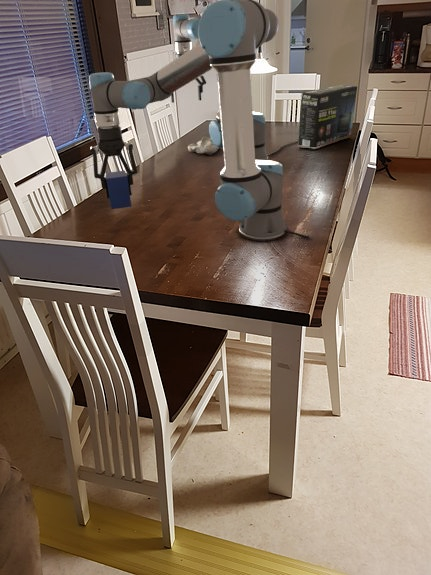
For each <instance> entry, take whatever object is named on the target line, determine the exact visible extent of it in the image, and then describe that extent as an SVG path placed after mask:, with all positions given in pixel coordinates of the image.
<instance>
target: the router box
mask: <svg viewBox="0 0 431 575" xmlns="http://www.w3.org/2000/svg"><path fill="white" fill-rule="evenodd" d="M357 93H358V86H356V85H350V84H339V85H338V84H337V85H334V86H328V87H324V88H318V89H314V90H309V91H304V92H301V93H300V109H299V110H300V111H299V124H298V137H297V140H298V141H297V146H298V145H302V146H307V147H317V146H320V145H323V144H325V143H328V142H331V141H333V140H336V139H338V138H341V137H344V136H347V135H351V136H352V133H353V132H352V131H353V125H354V115H355V109H356V99H357ZM311 151H313V150H312V149H311Z"/></svg>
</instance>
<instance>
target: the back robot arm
mask: <svg viewBox="0 0 431 575" xmlns="http://www.w3.org/2000/svg"><path fill="white" fill-rule="evenodd" d="M265 10H266V11H267V13H268V16H269V20H270V29H269V34H268V36H267V39H266V40H265V42H264V43H263V44H266V43H268V42H270V41H272V40H273V39H274V38H275V37H276V36H277V33H278V32H279V31H278V30H279V26H280V25H279V24H280V23H279V19H278V16H277V15H276V13H274V11H272V10H271V9H269V8H265ZM199 22H200V18H190V15H189V14H188V13H181V14H180V13H176V14H174V15H173V16H172V26H173V38H174V52H175V59H177V58H178V57H180V56H181V55H183V54H184V53H186V52H187V51H189V50H190V49H192V39H193V40H199V36H198V27H199ZM199 78H200V79H199ZM194 81H195V82H196V83H197V84H198V85H197V95H198V101H202V94H203V92H204V85H206V84H207V80H206V78H205V76H204V74H203V75H201V76H200V77H198V78H196V79H195V80H194ZM174 94H175V93H174V92H173V93H172V95H171V96H170V99H171V100H170V101H171V103H173V104H174V103H175V95H174ZM266 124H267V123H266V115H265V114H264V113H263V112H258V111H253V127H254V146H255V160H269V157H270V156H273V155H275V154H277V153H279V152H280V150H281V149H279V150H278V149H277V150H278V151H277V150H275V151H276V152H275V151H273V152H274V153H273V152H271V153H272V154H271V153H269V154H270V155H268V156H267V154H268V153H267V150H266ZM208 133H209V137H211V139H212V141H213V143H214V144H215V145H216V146H217V147H221V148H223V140H222V129H221V117H220V110H218V111H217V112H216V114H215V119H213V120H211V121H210V122H209V125H208Z"/></svg>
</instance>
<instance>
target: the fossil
mask: <svg viewBox="0 0 431 575" xmlns="http://www.w3.org/2000/svg"><path fill="white" fill-rule="evenodd" d="M220 148H222V147H217V146H216V145H215V144H214V143H213V141H212V139H211V137H210V136H206V135H205V136H202V138H201V139H200V140H199V141H197V142H196V143H194V142H193V143H191V144H189V145H188V146H187V149H188V151H189V152H191V153H197V154H206V155H208V156H212V155H213V154H215V153H217V151H218V150H219V149H220Z"/></svg>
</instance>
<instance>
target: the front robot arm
mask: <svg viewBox="0 0 431 575" xmlns="http://www.w3.org/2000/svg"><path fill="white" fill-rule="evenodd" d="M265 9H266V7H264V6H263V5H262V4H261V3H260V2H259V1H257V0H216V1H214V2H212V3H210V4H209V5H208V6H207V7H206V8H205V9H204V11H203V13H202V14H201V15H200V16H201V17H200V18H199V19H200V22H199V27H198V36H199V39H198V41H199V43H198V44H196V45H195V46H193V47H191V49H190V50H189V51H187V52H186V53H184V54H183V55H181V56H180V57H178V58H177V59H176V58H175V59H174V60H172V61H170V62H169V63H168V64H166V65H165V66H163V67H162V68H161V69H159V70H157V71H156V72H154V73H152V74H151V75H149V76H145V77H140V78H136V79H130V80H115V76H114V73H112V72H109V71H108V72H107V71H106V72H105V71H104V72H103V71H102V72H95V73H94V72H93V73H90V75H89V76H88V81H89V91H90V95H91V101H92V108H93V113H94V114H93V115H94V121H95V126H96V127H97V128H96V134H97V139H98V143H97V145H95V146H90V151H91V154H92V161H93V162H92V165H93V176H94V179H99V180H100V184H101V188H102V189H105V193H106V198H107V199H109V192H108V186H107V180H106V176H105V173H106V170H107V165H108V161H109V158H110V157H118V158H119V159H120V162H121V164H122V166H123V167H124V169H125V172H126V174H127V178H128V185H129V192H130V196H132V187H131V186H133V185H134V175H135V174H138V169H137V164H136V161H135V156H134V151H133V150H134V145H133V143H132V142H131V141H130V142H125V141H124V140H123V134H122V126H120V125H121V120H120V113H119V112H120V111H119V108H120V109H130V110H134V111H135V110H143V109H146V107H147V106H148V105H149V104H153V103H155V102H163V101H165V100H167V99H169V98H171V95H172V93H173V94H174V92H176V91H178V90H180V89H181V88H183V87H184V86H186V85H188V84H190V83H191V82H193V81H196V80H195V79H196V78H198V79H199V78H200V76H201V75H203V76H204V75H205V74H207V73H208V72H210V71H212V70H214V71H215V72H216V81H217V83H216V84H217V92H218V94H217V95H218V103H219V104H218V106H219V111H220V117H221V129H222V140H223V147H222V150H223V163H224V166H223V167H222V169H221V170H220V171H219V178H220V185H219V186H218V188H217V189H216V191H215V194H214V202H215V206H216V208H217V210H218V211H219V213H220V214H222V215H223V216H224V218H226V219H228V220H229V221H232V222H239V223H238V225H239V226H238V232H239V235H240V236H241V237H242V238H244V239H247V240H250V241H254V242H271V241H277V240H279V239H281V238H283V237H285V235H286V234H290V235H294V236H297V237H300V238H303V239H309V238H310V236H309V235H306V234H301V233H299V232H295V231H292V230H289V229H287V223H286V221H285V216H284V214H283V210H282V200H283V183H284V168H283V164H282V163H280V162H278V161H275V160H270V159H268V160H255V146H254V127H253V112H254V111H253V93H252V92H253V91H252V75H251V74H252V73H251V68H252V67H253V65H254V64H255V63H256V61H257V49H259V48H261V47H262V45H263V44H265V43H266V42H265V40H266V39H267V36H268V34H269V29H270V20H269V16H268V13H267V11H266V10H265ZM264 42H265V43H264ZM124 148H125V149H126V150H127V152H128V157H129V160H130V166H131V168H132V169H131V168H130V167H129V165H128V163H127V160H126V159H125V157H124V156H123V154H122V151H123V149H124ZM99 150H100V151H101V152H102V153H103V155H102V156H103V158H102V161H101V162H102V163H101V167H100V172H99V167H98V155H97V154H98V153H99Z"/></svg>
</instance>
